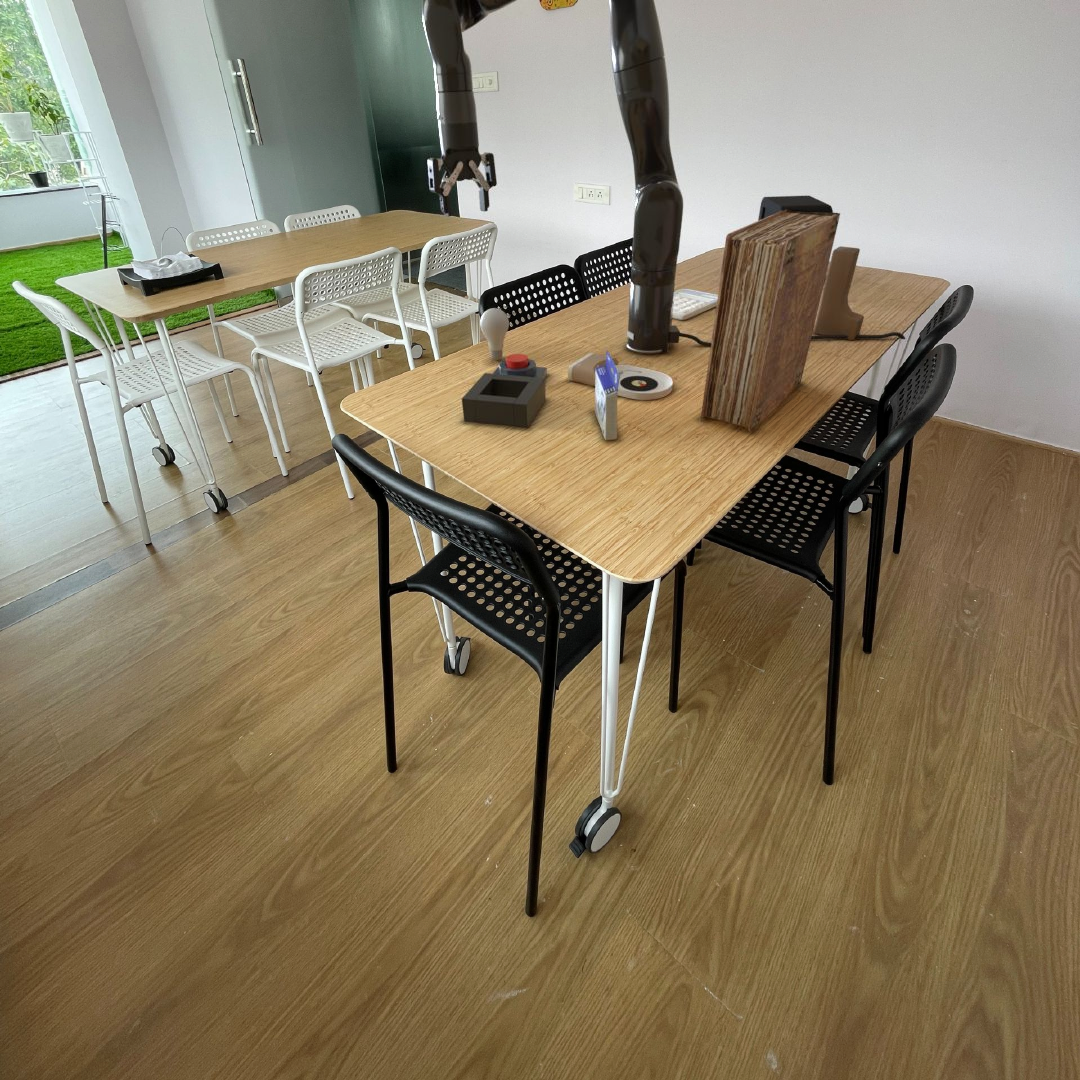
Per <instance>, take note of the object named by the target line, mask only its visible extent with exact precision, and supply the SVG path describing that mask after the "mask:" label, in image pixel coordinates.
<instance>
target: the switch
mask: <svg viewBox="0 0 1080 1080" xmlns="http://www.w3.org/2000/svg"><path fill="white" fill-rule="evenodd" d="M491 374H502V375H514V376H526V377H538V378H545V379H546V377H547V376H548V367H544V366H537V363H536V361H535V360H533V359H531V358H528V367H526V368H522V369H510V368H508V367H507V365H506V359H503V360H502V361H500V363H498V367H496V369H495V370H494V371H493V372H492V373H491Z"/></svg>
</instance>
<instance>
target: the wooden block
mask: <svg viewBox="0 0 1080 1080" xmlns="http://www.w3.org/2000/svg"><path fill="white" fill-rule="evenodd" d="M860 252H861V249H860V248H858V247H850V246H838V247H836V248H835V249H833V250H832V252H831V256H830V261H829V265H828V269H827V273H826V277H825V282H824V286H823V290H822V294H821V299H820V303H819V307H818V311H817V316H816V320H815V324H814V328H813V333H814V334H815V335H847V336H848V338H844V339H843V340H849V341H854V340H855V337H856V335H860V333H861V330H862V327H863V322H864V319H865V316H864V315H863V314H861V313H857V312H854V311H853V310H852V309H851V307H850V305H849V294H850V290H851V286H852V282H853V278H854V274H855V270H856V267H857V263H858V259H859V255H860Z"/></svg>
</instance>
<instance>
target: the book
mask: <svg viewBox="0 0 1080 1080" xmlns="http://www.w3.org/2000/svg"><path fill="white" fill-rule="evenodd" d="M840 216H841V213H840V212H833V213H832V212H819V211H806V210H794V209H785V210H783V211H780V212H778V213H776V214H773V215H771V216H769V217H766V218H764V219H762V220H759V221H758V220H757V221H755V222H752V223H750V224H748V225H745V226H743V227H740V228H738V229H735V230H733V231H732V232H729V233H727V234H726V237H725V243H724V250H723V256H722V257H723V258H722V264H721V272H720V278H719V284H718V293H717V295H718V299H717V306H716V307H715V314H714V321H713V328H712V336H711V342H710V343H711V346H710V350H709V355H708V363H707V371H706V379H705V384H704V392H703V399H702V405H701V412H700V420H702V421H704V420H705V419H706V418H708V419H713V420H716V421H719V422H720V421H721V422H724V423H728V424H732V425H736V426H740V427H743V428H747V429H748V430H747V431H748V432H750V433H752V432H753V431H755V429H756V428H757V427H758V426H759V425H760V424H761V423H762V422H763V421H764V420H765V419H766V418H767V417H768V416H770V414H771V413H772V412H773V411H775V410H776V408H778V406H779V405H780V404H782V403H783V401H785V400H786V398H788V397H789V396H790V395H791V394H792V392H794V391H795V389H797V388H798V387H799V386H800V385H801V383H802V380H803V375H804V371H805V367H806V361H807V358H808V353H809V349H810V345H811V340H812V339H811V337H812V336H813V333H814V329H815V325H816V321H817V316H818V312H819V308H820V304H821V299H822V295H823V291H824V287H825V282H826V278H827V274H828V269H829V265H830V261H831V257H832V252H833V247H834V242H835V237H836V234H837V230H838V225H839V222H840V221H839V220H840Z"/></svg>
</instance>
